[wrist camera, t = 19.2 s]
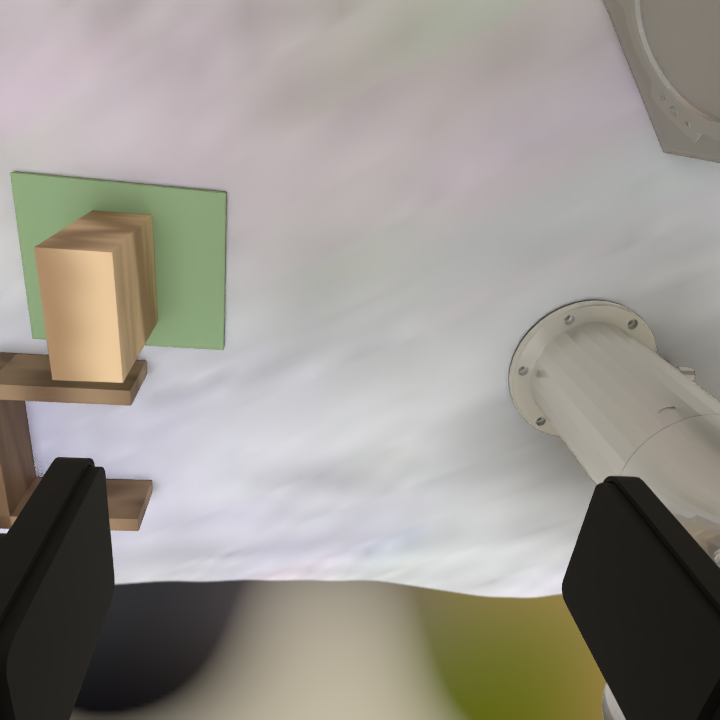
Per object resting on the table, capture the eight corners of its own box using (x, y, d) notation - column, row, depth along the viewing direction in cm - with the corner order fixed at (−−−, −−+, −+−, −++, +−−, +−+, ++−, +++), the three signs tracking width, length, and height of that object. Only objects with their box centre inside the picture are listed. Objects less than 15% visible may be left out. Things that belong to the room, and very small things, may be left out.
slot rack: (146, 360, 46) (130, 390, 41) (152, 491, 51) (138, 530, 47) (0, 352, 44) (-33, 383, 40) (22, 488, 50) (-5, 528, 45)
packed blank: (152, 214, 41) (112, 252, 32) (158, 321, 44) (122, 382, 35) (92, 210, 40) (33, 247, 31) (102, 318, 43) (52, 379, 34)
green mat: (226, 192, 41) (225, 193, 40) (224, 346, 46) (223, 350, 46) (14, 171, 39) (10, 172, 39) (35, 335, 44) (32, 338, 44)
